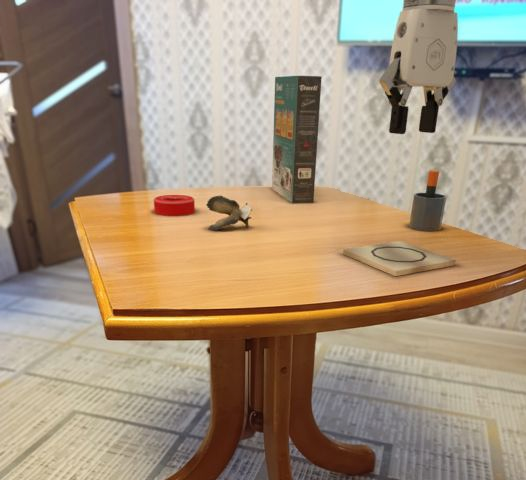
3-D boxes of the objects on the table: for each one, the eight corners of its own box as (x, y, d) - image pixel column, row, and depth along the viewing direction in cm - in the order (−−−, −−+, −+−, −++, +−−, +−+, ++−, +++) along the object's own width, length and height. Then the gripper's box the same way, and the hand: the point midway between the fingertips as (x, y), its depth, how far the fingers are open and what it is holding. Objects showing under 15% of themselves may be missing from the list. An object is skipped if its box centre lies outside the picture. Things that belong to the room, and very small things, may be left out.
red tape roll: (160, 217, 118) (159, 203, 116) (150, 208, 125) (149, 195, 124) (200, 214, 121) (199, 200, 120) (188, 206, 129) (187, 193, 128)
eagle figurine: (241, 216, 115) (203, 210, 112) (252, 192, 110) (211, 185, 106) (246, 241, 111) (207, 236, 108) (257, 218, 106) (216, 212, 102)
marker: (425, 223, 115) (434, 170, 110) (432, 225, 114) (441, 171, 108) (418, 224, 114) (427, 170, 109) (425, 226, 113) (434, 171, 108)
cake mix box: (313, 202, 137) (321, 76, 123) (291, 203, 136) (297, 75, 122) (291, 188, 156) (296, 77, 142) (271, 188, 155) (275, 76, 141)
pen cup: (424, 222, 118) (429, 191, 115) (447, 229, 113) (453, 197, 110) (402, 225, 115) (407, 193, 112) (424, 232, 110) (430, 199, 107)
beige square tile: (399, 245, 100) (400, 240, 100) (455, 265, 89) (456, 259, 89) (342, 254, 94) (343, 248, 93) (395, 276, 83) (396, 270, 83)
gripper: (404, -8, 69) (388, 136, 77) (489, 3, 76) (466, 133, 85) (367, -1, 75) (356, 132, 83) (450, 9, 82) (432, 130, 90)
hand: (412, 131), depth 84 cm, fingers open, 5 cm apart
